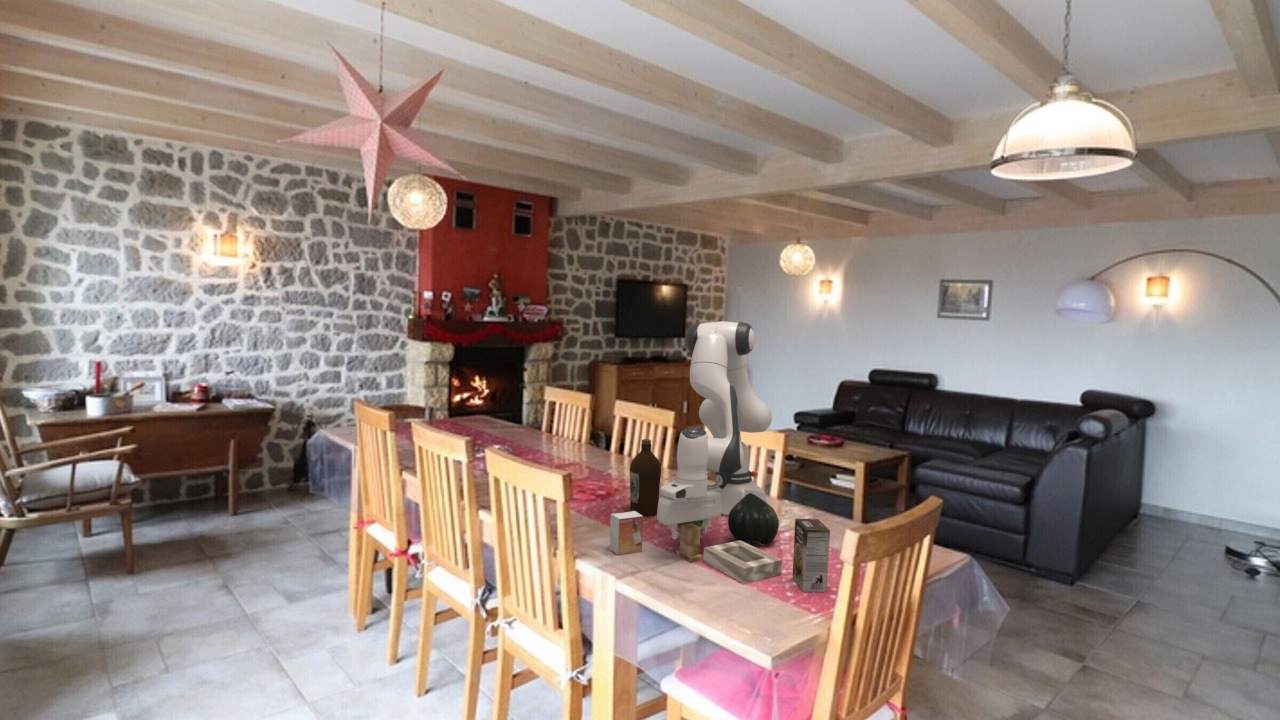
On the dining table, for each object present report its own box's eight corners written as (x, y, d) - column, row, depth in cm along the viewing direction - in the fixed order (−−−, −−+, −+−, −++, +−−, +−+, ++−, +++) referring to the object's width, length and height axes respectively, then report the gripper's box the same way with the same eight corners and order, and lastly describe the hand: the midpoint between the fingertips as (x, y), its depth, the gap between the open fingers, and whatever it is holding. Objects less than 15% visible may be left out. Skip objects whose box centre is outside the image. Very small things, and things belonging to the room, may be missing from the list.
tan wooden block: (687, 552, 198) (688, 521, 197) (702, 560, 192) (703, 528, 191) (676, 554, 196) (677, 523, 195) (691, 562, 190) (692, 530, 189)
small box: (617, 555, 194) (618, 519, 193) (609, 549, 199) (610, 513, 198) (642, 551, 197) (643, 515, 196) (633, 545, 202) (635, 510, 201)
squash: (772, 537, 197) (778, 490, 205) (720, 531, 202) (728, 486, 211) (777, 557, 207) (783, 511, 216) (728, 551, 212) (736, 507, 221)
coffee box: (791, 577, 182) (794, 518, 180) (815, 577, 182) (818, 518, 181) (802, 592, 172) (805, 529, 171) (827, 592, 173) (830, 529, 172)
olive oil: (652, 506, 241) (654, 436, 239) (664, 515, 231) (667, 442, 229) (623, 509, 237) (625, 437, 235) (635, 518, 227) (637, 443, 225)
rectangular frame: (739, 553, 198) (740, 540, 198) (781, 574, 184) (782, 559, 183) (703, 561, 191) (703, 547, 191) (743, 583, 177) (744, 568, 176)
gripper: (713, 481, 200) (711, 527, 201) (655, 488, 189) (653, 537, 190) (727, 486, 195) (725, 534, 196) (668, 494, 184) (665, 544, 185)
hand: (689, 536), depth 193 cm, fingers open, 8 cm apart
